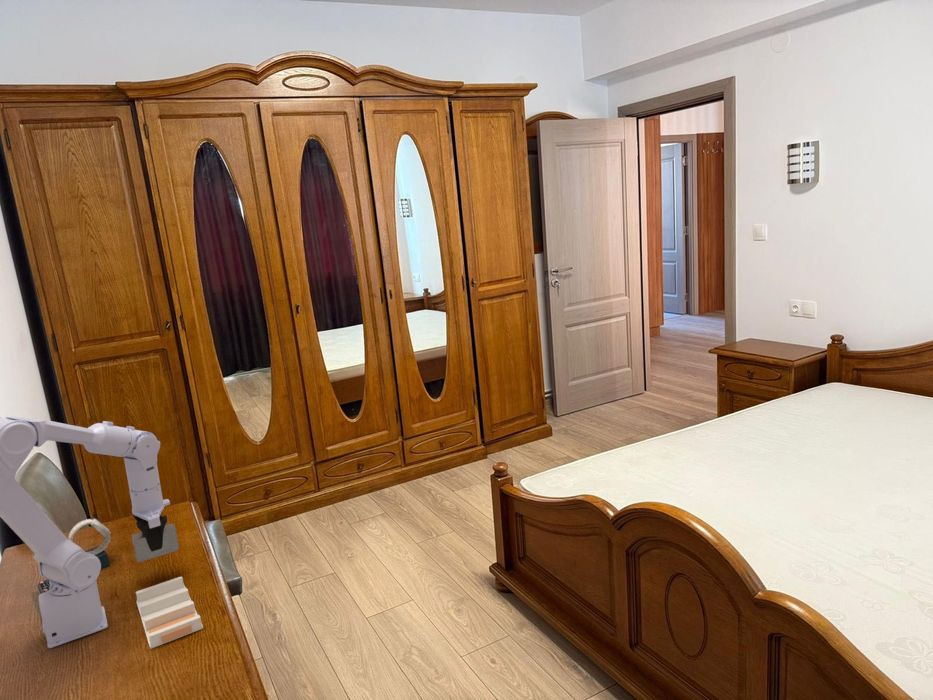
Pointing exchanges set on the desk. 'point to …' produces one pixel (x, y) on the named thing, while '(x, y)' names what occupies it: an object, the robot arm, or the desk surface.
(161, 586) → the rack
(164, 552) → the panel
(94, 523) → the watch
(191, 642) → the desk surface
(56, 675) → the desk surface
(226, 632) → the desk surface
